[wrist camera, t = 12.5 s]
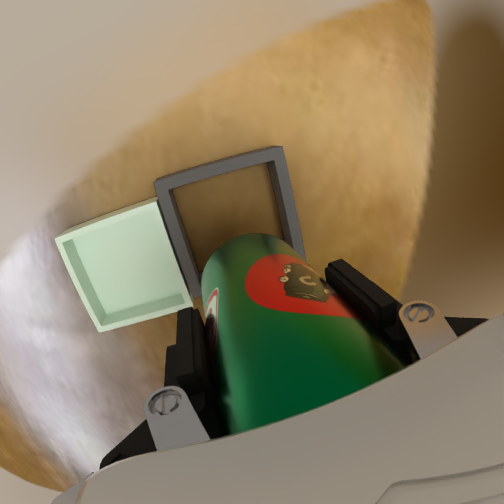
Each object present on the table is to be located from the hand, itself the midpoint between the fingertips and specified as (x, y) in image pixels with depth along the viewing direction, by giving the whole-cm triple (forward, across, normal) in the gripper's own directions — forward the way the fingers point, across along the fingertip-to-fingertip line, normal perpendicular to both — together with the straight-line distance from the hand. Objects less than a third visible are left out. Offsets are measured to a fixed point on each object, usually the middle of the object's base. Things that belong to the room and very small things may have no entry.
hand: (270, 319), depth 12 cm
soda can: (+4, 0, 0) cm, 4 cm away
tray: (+14, +8, 0) cm, 16 cm away
